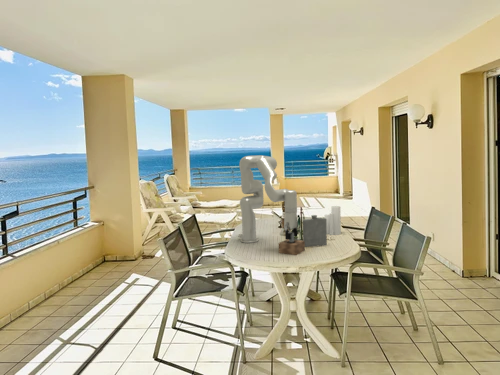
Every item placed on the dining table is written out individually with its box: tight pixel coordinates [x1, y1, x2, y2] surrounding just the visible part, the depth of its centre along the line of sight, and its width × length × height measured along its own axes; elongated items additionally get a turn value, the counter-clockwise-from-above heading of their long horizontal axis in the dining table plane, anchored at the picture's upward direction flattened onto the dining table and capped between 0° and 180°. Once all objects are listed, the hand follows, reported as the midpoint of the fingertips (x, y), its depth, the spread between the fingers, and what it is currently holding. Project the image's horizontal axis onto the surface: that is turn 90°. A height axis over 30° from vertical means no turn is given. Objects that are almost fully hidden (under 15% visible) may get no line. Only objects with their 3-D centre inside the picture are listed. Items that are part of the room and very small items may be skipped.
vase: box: [324, 205, 342, 236], centre depth 289 cm, size 11×7×20 cm, turn 90°
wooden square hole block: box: [278, 239, 306, 256], centre depth 244 cm, size 12×12×6 cm
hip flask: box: [302, 214, 328, 248], centre depth 257 cm, size 16×4×20 cm, turn 100°
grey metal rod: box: [289, 231, 295, 243], centre depth 244 cm, size 3×3×12 cm
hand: (291, 237), depth 244 cm, fingers open, 9 cm apart
